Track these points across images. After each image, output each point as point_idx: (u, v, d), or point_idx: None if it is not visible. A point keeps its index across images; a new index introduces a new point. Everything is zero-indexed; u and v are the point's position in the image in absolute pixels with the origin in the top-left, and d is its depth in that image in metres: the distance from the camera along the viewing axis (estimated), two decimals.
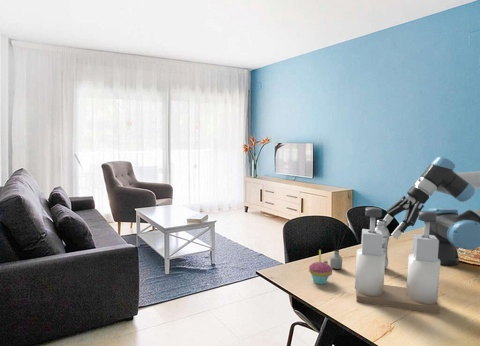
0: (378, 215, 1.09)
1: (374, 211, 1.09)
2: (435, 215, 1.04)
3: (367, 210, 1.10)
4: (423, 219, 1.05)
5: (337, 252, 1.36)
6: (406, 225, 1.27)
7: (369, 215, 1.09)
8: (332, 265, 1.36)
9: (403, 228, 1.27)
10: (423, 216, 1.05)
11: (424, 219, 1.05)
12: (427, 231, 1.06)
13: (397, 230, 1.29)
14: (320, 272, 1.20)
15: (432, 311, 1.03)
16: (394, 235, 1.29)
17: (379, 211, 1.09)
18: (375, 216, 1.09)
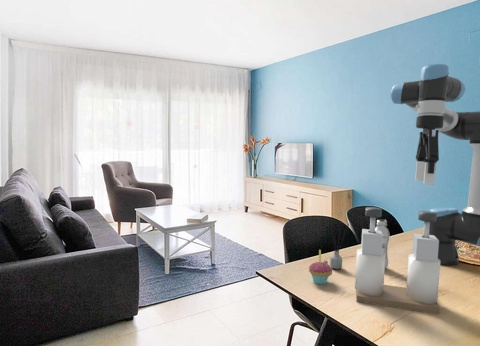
0: (378, 215, 1.09)
1: (374, 211, 1.09)
2: (435, 215, 1.04)
3: (367, 210, 1.10)
4: (423, 219, 1.05)
5: (337, 252, 1.36)
6: (431, 163, 0.99)
7: (369, 215, 1.09)
8: (332, 265, 1.36)
9: (430, 168, 0.99)
10: (423, 216, 1.05)
11: (424, 219, 1.05)
12: (427, 231, 1.06)
13: (426, 174, 1.01)
14: (320, 272, 1.20)
15: (432, 311, 1.03)
16: (427, 182, 1.01)
17: (379, 211, 1.09)
18: (375, 216, 1.09)
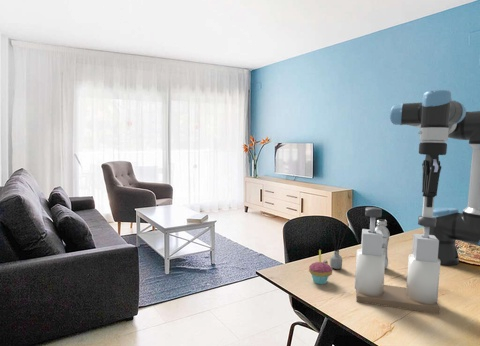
0: (378, 215, 1.09)
1: (374, 211, 1.09)
2: (435, 220, 1.04)
3: (367, 210, 1.10)
4: (422, 224, 1.05)
5: (337, 252, 1.36)
6: (430, 198, 1.04)
7: (369, 215, 1.09)
8: (332, 265, 1.36)
9: (429, 203, 1.04)
10: (422, 221, 1.05)
11: (424, 224, 1.05)
12: (427, 236, 1.06)
13: (425, 208, 1.06)
14: (320, 272, 1.20)
15: (432, 311, 1.03)
16: (426, 215, 1.06)
17: (379, 211, 1.09)
18: (375, 216, 1.09)
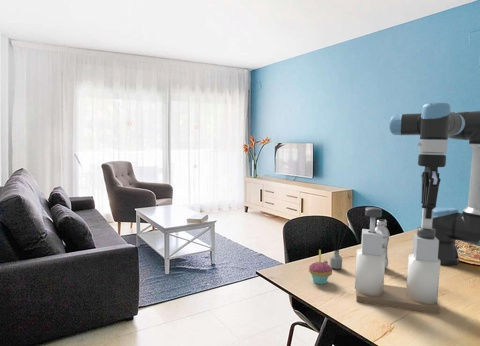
0: (378, 215, 1.09)
1: (374, 211, 1.09)
2: (434, 231, 1.05)
3: (367, 210, 1.10)
4: (421, 235, 1.06)
5: (337, 252, 1.36)
6: (429, 209, 1.04)
7: (369, 215, 1.09)
8: (332, 265, 1.36)
9: (428, 214, 1.04)
10: (421, 232, 1.06)
11: (423, 235, 1.05)
12: None
13: (424, 219, 1.06)
14: (320, 272, 1.20)
15: (432, 311, 1.03)
16: (425, 226, 1.06)
17: (379, 211, 1.09)
18: (375, 216, 1.09)
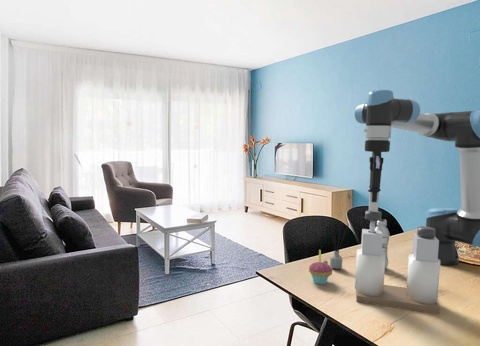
0: (378, 218, 1.09)
1: (374, 214, 1.09)
2: (434, 231, 1.05)
3: (367, 213, 1.10)
4: (422, 235, 1.06)
5: (337, 252, 1.36)
6: (374, 193, 1.08)
7: (369, 218, 1.10)
8: (332, 265, 1.36)
9: (374, 198, 1.09)
10: (421, 232, 1.05)
11: (423, 235, 1.05)
12: None
13: (371, 203, 1.10)
14: (320, 272, 1.20)
15: (432, 311, 1.03)
16: (371, 209, 1.10)
17: (379, 214, 1.09)
18: (375, 219, 1.09)
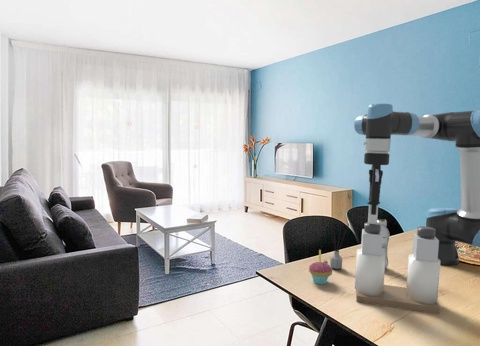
0: (377, 231, 1.09)
1: (373, 227, 1.09)
2: (434, 231, 1.05)
3: (366, 226, 1.11)
4: (422, 235, 1.06)
5: (337, 252, 1.36)
6: (374, 205, 1.09)
7: (368, 231, 1.10)
8: (332, 265, 1.36)
9: (373, 210, 1.09)
10: (421, 232, 1.05)
11: (423, 235, 1.05)
12: None
13: (370, 215, 1.11)
14: (320, 272, 1.20)
15: (432, 311, 1.03)
16: (371, 222, 1.11)
17: (378, 227, 1.09)
18: (374, 232, 1.09)
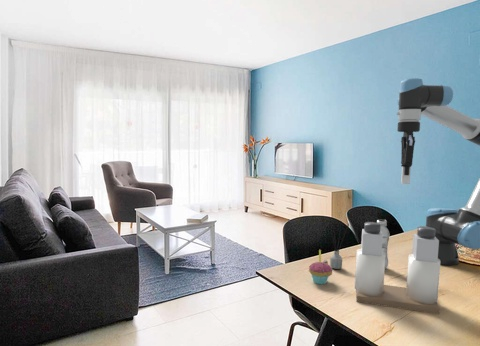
0: (377, 230, 1.09)
1: (373, 226, 1.09)
2: (434, 231, 1.05)
3: (366, 225, 1.11)
4: (422, 235, 1.06)
5: (337, 252, 1.36)
6: (407, 167, 1.26)
7: (368, 230, 1.10)
8: (332, 265, 1.36)
9: (406, 171, 1.27)
10: (421, 232, 1.05)
11: (423, 235, 1.05)
12: None
13: (403, 176, 1.28)
14: (320, 272, 1.20)
15: (432, 311, 1.03)
16: (404, 182, 1.28)
17: (378, 226, 1.09)
18: (374, 231, 1.09)
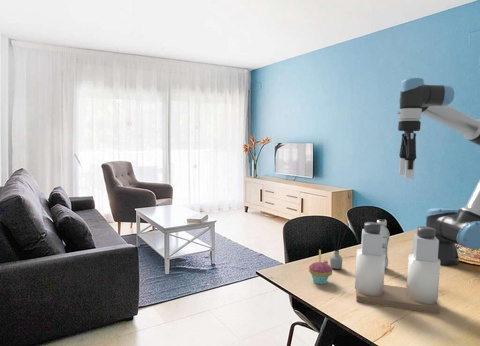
0: (377, 230, 1.09)
1: (373, 226, 1.09)
2: (434, 231, 1.05)
3: (366, 225, 1.11)
4: (422, 235, 1.06)
5: (337, 252, 1.36)
6: (410, 161, 1.20)
7: (368, 230, 1.10)
8: (332, 265, 1.36)
9: (410, 165, 1.21)
10: (421, 232, 1.05)
11: (423, 235, 1.05)
12: None
13: (407, 170, 1.22)
14: (320, 272, 1.20)
15: (432, 311, 1.03)
16: (407, 176, 1.22)
17: (378, 226, 1.09)
18: (374, 231, 1.09)
